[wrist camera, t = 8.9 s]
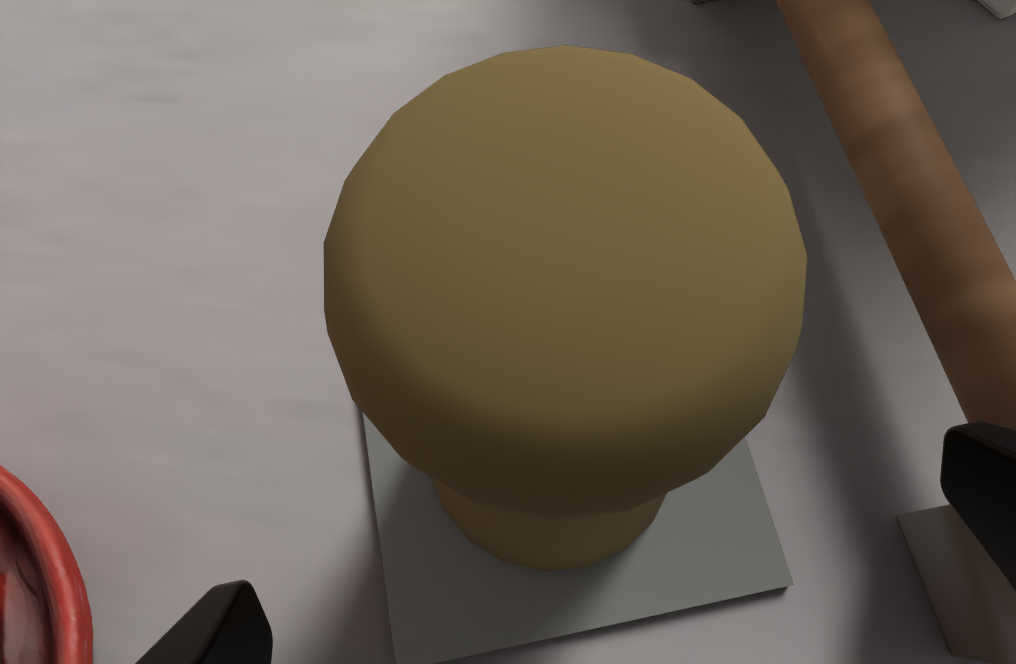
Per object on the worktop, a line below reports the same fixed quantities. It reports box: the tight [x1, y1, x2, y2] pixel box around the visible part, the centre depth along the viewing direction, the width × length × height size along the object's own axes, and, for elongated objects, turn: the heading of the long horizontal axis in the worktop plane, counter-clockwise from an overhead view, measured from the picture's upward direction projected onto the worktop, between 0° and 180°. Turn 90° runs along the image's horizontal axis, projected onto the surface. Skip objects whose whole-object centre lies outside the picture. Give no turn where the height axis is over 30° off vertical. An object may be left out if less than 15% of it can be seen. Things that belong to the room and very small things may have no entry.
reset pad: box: [363, 413, 794, 664], centre depth 17 cm, size 9×9×1 cm
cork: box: [324, 45, 807, 571], centre depth 11 cm, size 6×6×11 cm
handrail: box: [692, 0, 1016, 664], centre depth 17 cm, size 22×3×4 cm, turn 12°
